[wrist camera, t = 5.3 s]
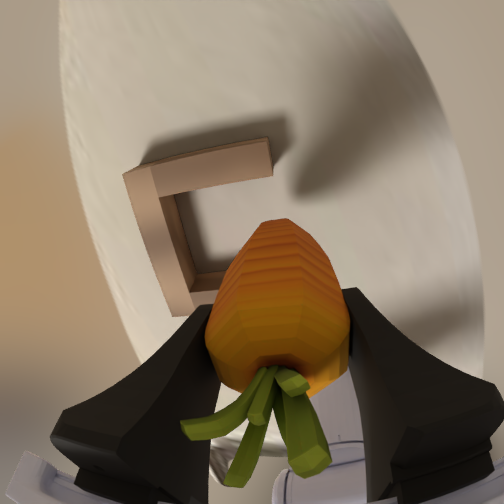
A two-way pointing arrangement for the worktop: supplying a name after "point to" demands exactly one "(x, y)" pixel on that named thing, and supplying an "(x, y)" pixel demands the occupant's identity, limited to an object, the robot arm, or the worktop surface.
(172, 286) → the walnut bracket
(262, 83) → the worktop surface
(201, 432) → the carrot
